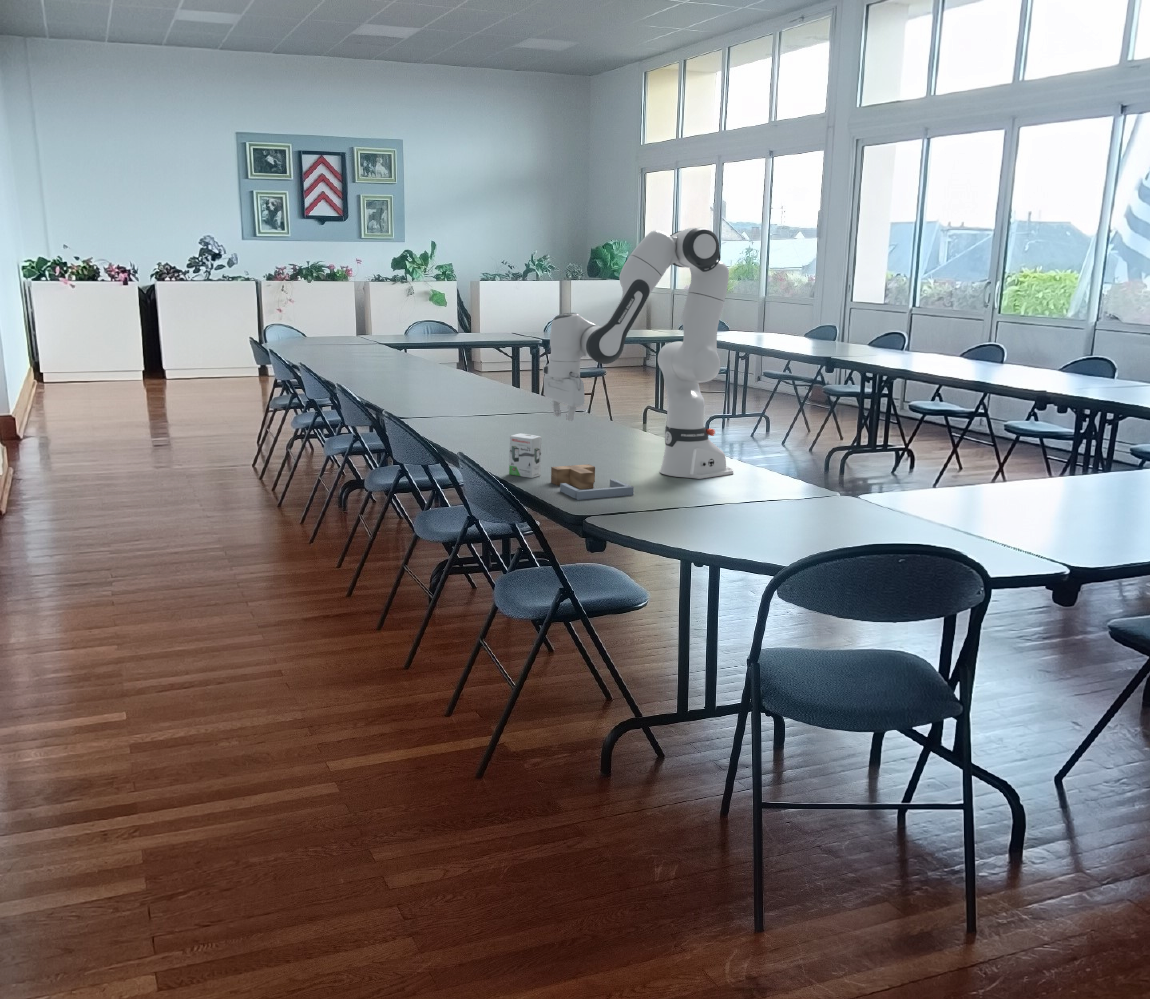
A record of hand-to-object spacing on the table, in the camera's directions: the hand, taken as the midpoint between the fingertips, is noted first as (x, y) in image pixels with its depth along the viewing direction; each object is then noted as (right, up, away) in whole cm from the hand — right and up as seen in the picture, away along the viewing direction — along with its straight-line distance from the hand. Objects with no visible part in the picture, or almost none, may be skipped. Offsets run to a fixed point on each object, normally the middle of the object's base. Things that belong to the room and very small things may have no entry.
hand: (563, 418), depth 305 cm
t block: (+4, -19, -5) cm, 20 cm away
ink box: (-11, -16, +6) cm, 21 cm away
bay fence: (+9, -22, -15) cm, 28 cm away
